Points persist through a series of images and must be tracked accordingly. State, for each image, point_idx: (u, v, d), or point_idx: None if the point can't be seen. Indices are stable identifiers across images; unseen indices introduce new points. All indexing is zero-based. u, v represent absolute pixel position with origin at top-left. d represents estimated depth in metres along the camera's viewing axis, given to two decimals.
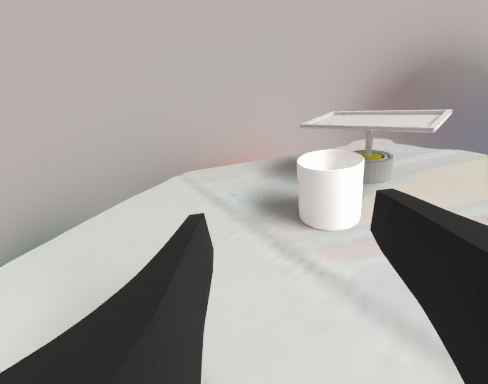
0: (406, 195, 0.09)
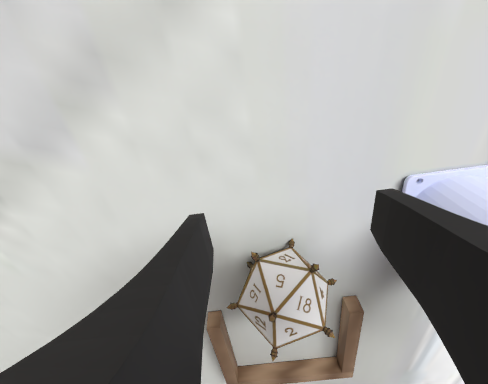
0: (406, 195, 0.09)
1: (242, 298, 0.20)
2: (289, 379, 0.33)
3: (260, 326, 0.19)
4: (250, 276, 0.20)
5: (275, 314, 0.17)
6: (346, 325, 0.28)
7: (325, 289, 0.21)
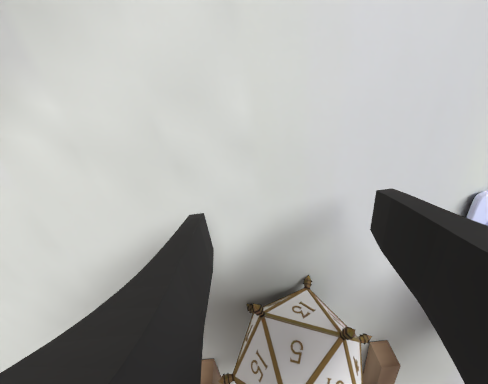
0: (406, 195, 0.09)
1: (240, 369, 0.14)
2: None
3: None
4: (251, 337, 0.14)
5: None
6: (375, 378, 0.22)
7: (358, 354, 0.14)
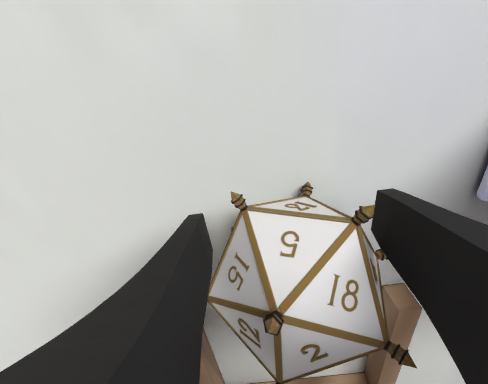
0: (407, 195, 0.09)
1: (215, 284, 0.10)
2: None
3: (249, 339, 0.09)
4: (230, 241, 0.10)
5: (279, 316, 0.07)
6: (389, 330, 0.18)
7: (376, 266, 0.11)
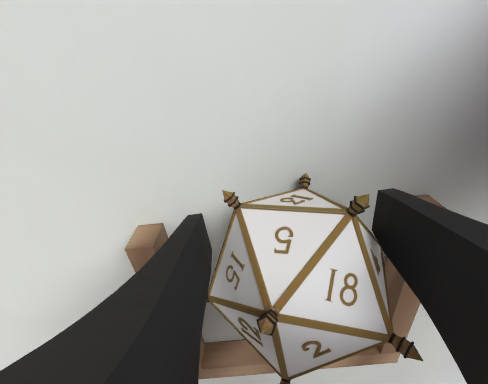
0: (408, 195, 0.09)
1: (215, 284, 0.10)
2: None
3: (251, 337, 0.09)
4: (226, 240, 0.10)
5: (274, 315, 0.07)
6: None
7: (379, 255, 0.10)
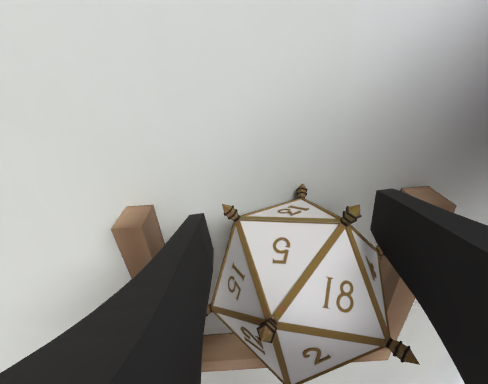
0: (406, 195, 0.09)
1: (217, 294, 0.11)
2: None
3: (254, 346, 0.10)
4: (227, 251, 0.11)
5: (274, 323, 0.07)
6: None
7: (375, 262, 0.11)
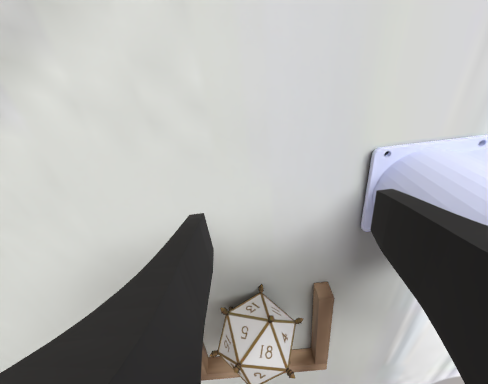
0: (406, 195, 0.09)
1: (220, 346, 0.24)
2: None
3: None
4: (223, 327, 0.24)
5: (240, 365, 0.20)
6: (317, 313, 0.26)
7: (291, 330, 0.23)
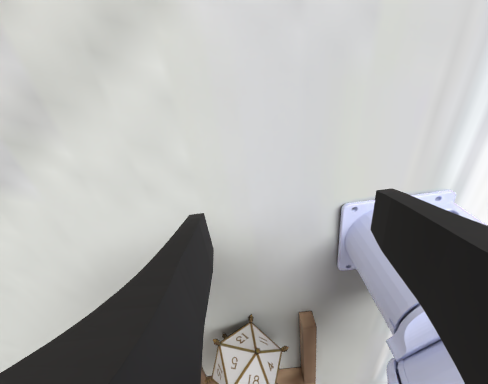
0: (406, 195, 0.09)
1: (213, 374, 0.26)
2: None
3: None
4: (216, 356, 0.26)
5: None
6: (302, 339, 0.29)
7: (277, 358, 0.26)
